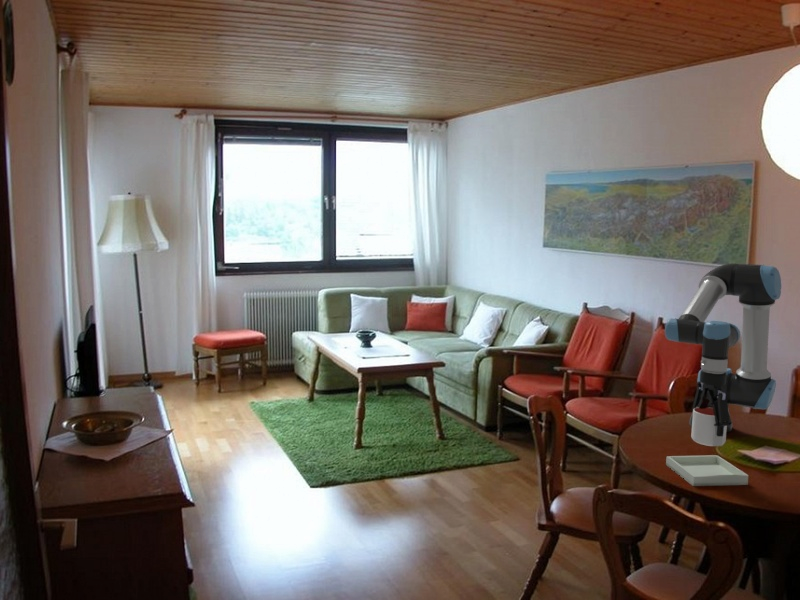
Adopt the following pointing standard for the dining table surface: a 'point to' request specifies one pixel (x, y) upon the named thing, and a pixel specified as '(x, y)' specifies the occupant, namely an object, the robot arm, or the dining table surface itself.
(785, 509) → the dining table surface
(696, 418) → the cup
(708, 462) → the tray
